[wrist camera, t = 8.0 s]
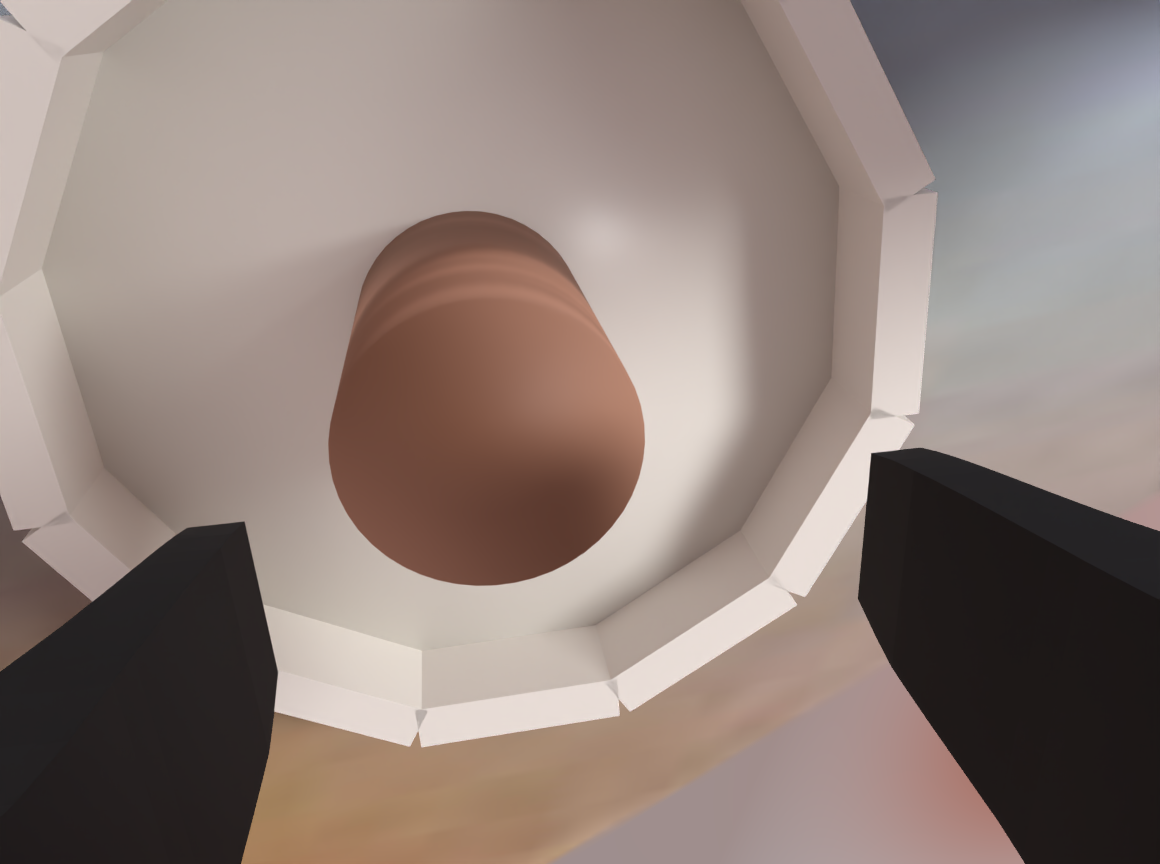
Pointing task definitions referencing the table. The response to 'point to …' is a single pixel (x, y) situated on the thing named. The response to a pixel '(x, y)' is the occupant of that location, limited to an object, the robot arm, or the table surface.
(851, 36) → the round tray
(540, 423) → the brown rounded cylinder
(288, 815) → the table surface
